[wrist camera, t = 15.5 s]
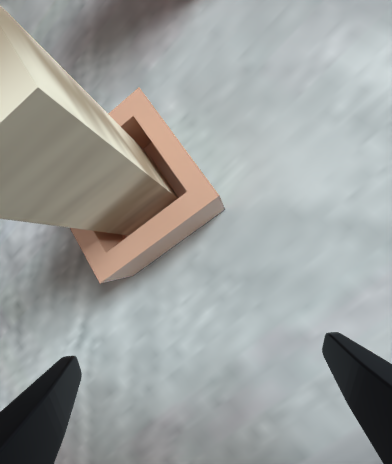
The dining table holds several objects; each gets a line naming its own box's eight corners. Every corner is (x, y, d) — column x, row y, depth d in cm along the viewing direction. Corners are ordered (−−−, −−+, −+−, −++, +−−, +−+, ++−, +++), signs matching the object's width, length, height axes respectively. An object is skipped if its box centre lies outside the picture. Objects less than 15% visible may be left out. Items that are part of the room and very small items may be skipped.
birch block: (180, 200, 17) (38, 87, 5) (134, 236, 18) (-89, 207, 6) (149, 156, 18) (-32, -27, 6) (106, 190, 19) (-134, 86, 7)
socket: (225, 209, 18) (219, 195, 13) (133, 275, 19) (100, 283, 14) (162, 123, 20) (139, 87, 15) (82, 189, 21) (39, 173, 16)
